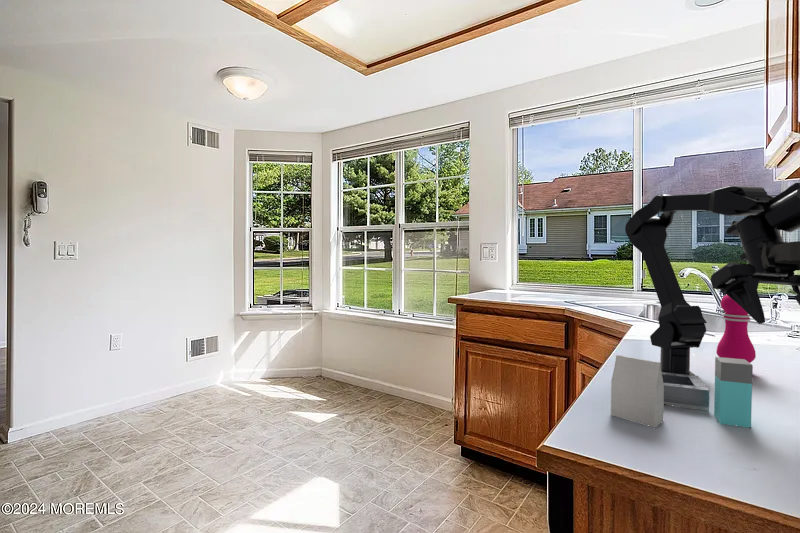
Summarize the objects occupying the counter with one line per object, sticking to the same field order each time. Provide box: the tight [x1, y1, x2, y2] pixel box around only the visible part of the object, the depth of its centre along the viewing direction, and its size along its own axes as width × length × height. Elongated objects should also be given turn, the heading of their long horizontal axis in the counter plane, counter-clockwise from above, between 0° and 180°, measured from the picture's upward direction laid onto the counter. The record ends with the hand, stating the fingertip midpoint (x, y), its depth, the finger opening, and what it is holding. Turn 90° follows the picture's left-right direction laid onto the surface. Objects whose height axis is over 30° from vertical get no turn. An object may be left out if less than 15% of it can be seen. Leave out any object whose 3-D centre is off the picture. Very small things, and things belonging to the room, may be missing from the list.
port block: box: [662, 372, 710, 412], centre depth 81 cm, size 10×10×4 cm
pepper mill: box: [716, 294, 757, 374], centre depth 99 cm, size 7×7×20 cm
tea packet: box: [610, 354, 665, 428], centre depth 71 cm, size 4×7×10 cm, turn 40°
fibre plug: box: [713, 356, 754, 428], centre depth 69 cm, size 4×4×10 cm
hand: (790, 325), depth 71 cm, fingers open, 9 cm apart
